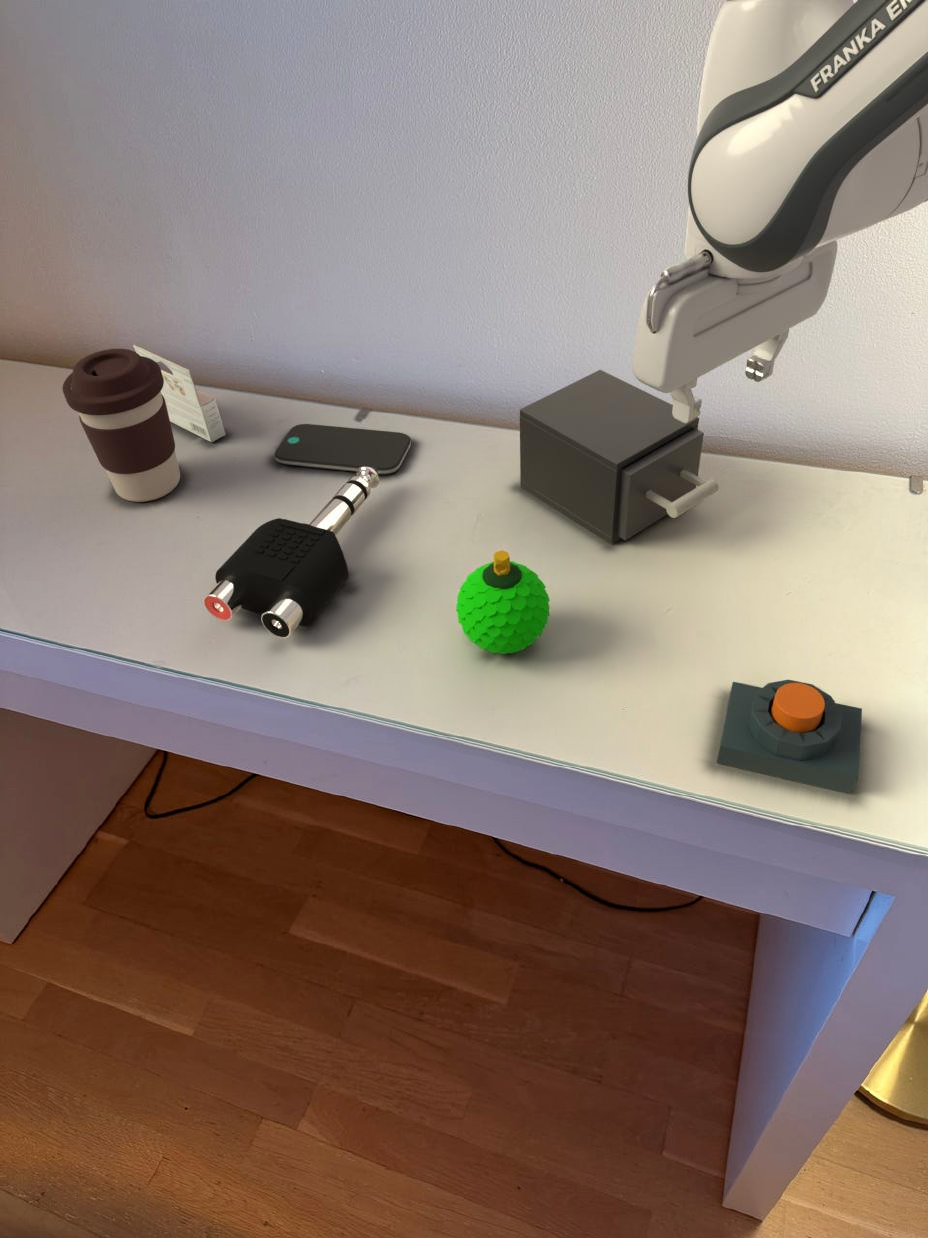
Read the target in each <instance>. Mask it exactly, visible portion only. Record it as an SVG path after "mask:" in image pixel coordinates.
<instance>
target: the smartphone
mask: <svg viewBox="0 0 928 1238" xmlns="http://www.w3.org/2000/svg"><path fill="white" fill-rule="evenodd" d="M411 445H412V440H411V437H410V435H408V434H406V433H403V432H397V431H389V430H377V429H365V428H357V427H356V428H355V427H344V426H331V425H325V424H324V425H323V424H312V423H301V424H300V423H299V424H296V425H294V426H292V427H291V428H290V429H289V431H288V432H287V433H286V434H285V436H284V438H283V439H282V441H281V442H280V443H279V445H278V446H277V447H276V449H275V451H274V460H275V462H276V461H277V463H279V464H282V465H287V466H295V467H296V466H297V467H306V468H313V469H314V468H315V469H323V470H324V469H325V470H333V471H343V472H344V471H345V472H354V473H356V472H357V470H358V469H359V468H360V467H363V466H367V467H377V470H378V475H391V474H394V473H396V472H397V471H398V470H399V468H400V467H401V466H402V464H403V462H404V460H405V458H406V456H407V454H408V452H409V450H410V449H411Z"/></svg>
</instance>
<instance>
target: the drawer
mask: <svg viewBox="0 0 928 1238" xmlns="http://www.w3.org/2000/svg"><path fill="white" fill-rule="evenodd" d="M704 435H705V433H704V431H702V430H700V429H698V430H697V429H695V428H694V429H692V430H691V431H689V432H687V433H685V434H684V435H682V436H680V437H678V436H677V437H676V438H674V439H672V440H670V441H669V442H667V443H665V444H663V445H662V446H660V447H658V448H656V449H655V450H653V451H651V452H649V453H648V454H646V455H644V456H642V457H641V458H639V459H637V460H635V461H634V462H632V463H630V464H628V465H627V466H625V467H623V469H622V470H621V483H620V496H619V509H618V522H617V534H616V535H617V536H619V537H620V538H621V540H624V541H627V540H628V539H630V538H632V537H633V536H635V535H636V534H638V533H640V532H641V531H642V530H644V529H646V528H647V527H649V526H651V525H652V524H654V523H656V522H657V521H659V520H661V519H662V518H663V517H665V516H667V515H668V516H669V517H670V518H672V519H675V518H677V517H679V516H681V515H683V514H684V513H685V512H688V511H689V510H690V509H692V508H694V507H695V506H697V505H699V504H700V503H702V502H703V501H704V500H706V499H708V498H710V497H711V496H713V495H714V494H716V493H718V491H719V488H720V487H719V484H718V482H717V481H716V480H715V479H712V478H709V479H708V480H705V479H704V478H701V477H700V476H698V475H699V470H700V463H701V457H702V448H703V442H704Z"/></svg>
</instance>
